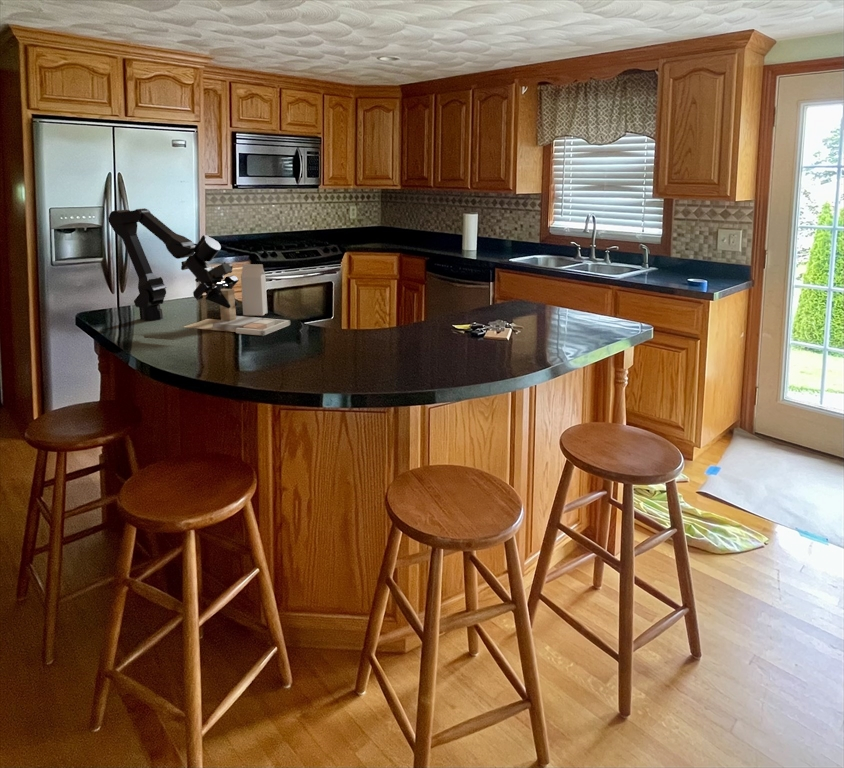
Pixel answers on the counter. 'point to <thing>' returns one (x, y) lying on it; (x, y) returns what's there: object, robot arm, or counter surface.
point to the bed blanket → (232, 315)
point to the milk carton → (253, 289)
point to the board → (204, 324)
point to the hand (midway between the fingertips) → (233, 306)
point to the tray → (268, 330)
